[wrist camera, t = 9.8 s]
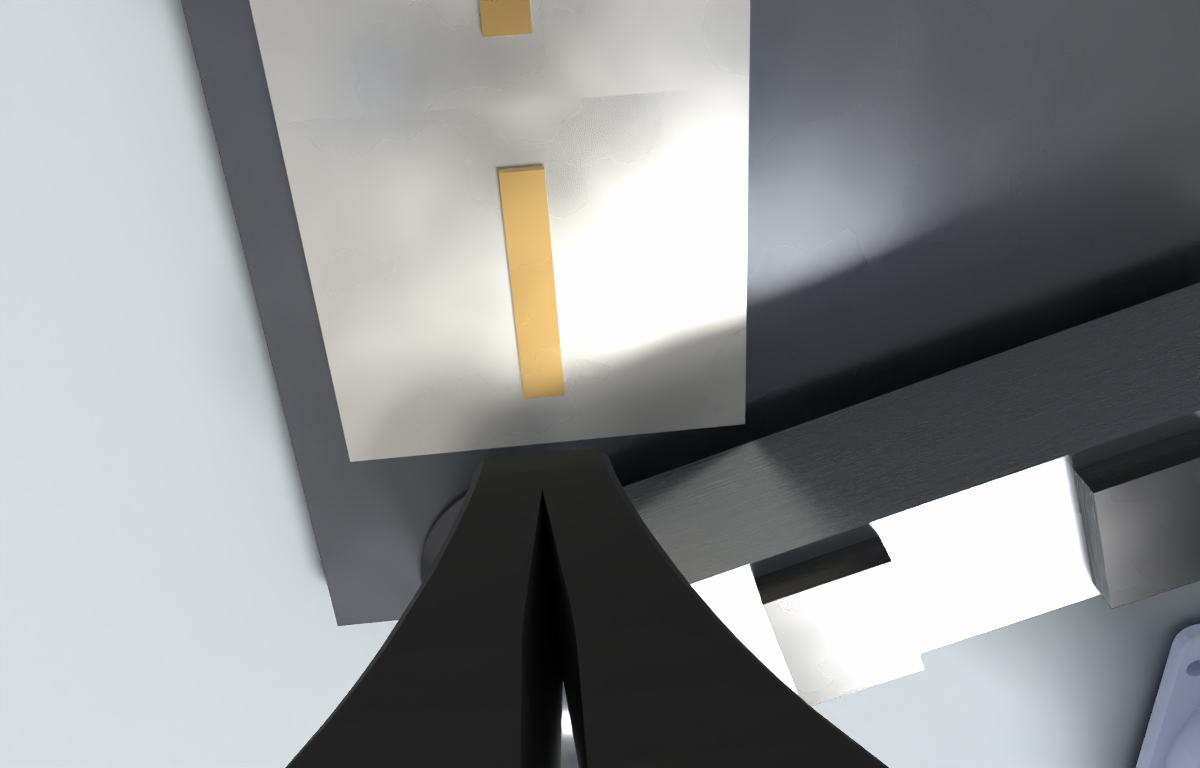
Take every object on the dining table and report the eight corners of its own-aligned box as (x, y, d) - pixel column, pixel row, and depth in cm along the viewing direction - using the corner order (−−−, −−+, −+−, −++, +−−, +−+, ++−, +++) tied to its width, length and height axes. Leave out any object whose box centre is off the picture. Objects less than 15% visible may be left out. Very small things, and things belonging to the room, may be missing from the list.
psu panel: (1278, 546, 23) (1316, 583, 21) (353, 642, 22) (346, 685, 21) (1623, -459, 14) (1713, -480, 13) (109, -365, 13) (75, -379, 12)
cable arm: (487, 679, 21) (485, 838, 18) (407, 548, 19) (389, 699, 16) (1284, 409, 19) (1439, 531, 16) (1279, 238, 17) (1452, 337, 14)
